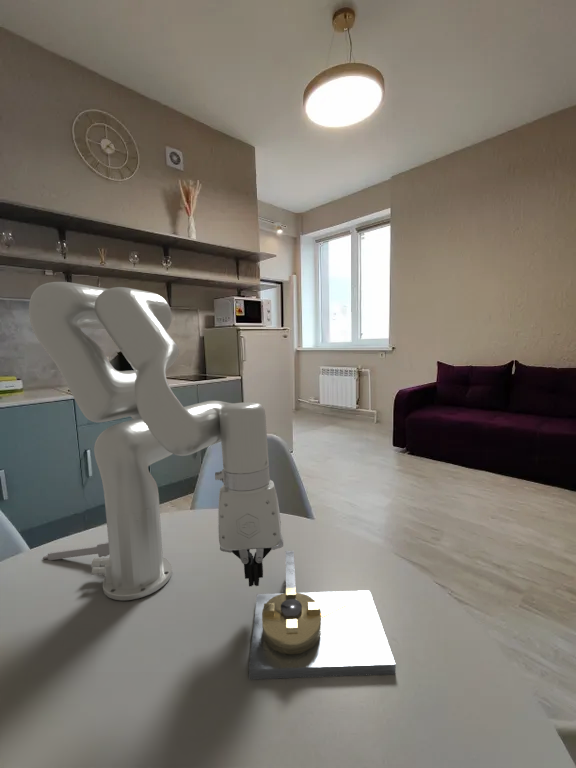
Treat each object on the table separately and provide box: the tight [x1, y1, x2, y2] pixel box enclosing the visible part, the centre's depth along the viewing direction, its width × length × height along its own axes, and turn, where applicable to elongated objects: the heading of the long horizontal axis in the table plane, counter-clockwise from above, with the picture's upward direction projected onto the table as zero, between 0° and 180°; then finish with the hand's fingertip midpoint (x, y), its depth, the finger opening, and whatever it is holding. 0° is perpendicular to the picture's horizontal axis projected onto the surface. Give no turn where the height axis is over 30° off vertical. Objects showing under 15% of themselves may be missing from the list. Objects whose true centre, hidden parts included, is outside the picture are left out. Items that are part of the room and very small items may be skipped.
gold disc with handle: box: [262, 550, 321, 654], centre depth 61 cm, size 9×20×4 cm, turn 1°
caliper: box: [42, 541, 110, 561], centre depth 78 cm, size 20×1×6 cm, turn 81°
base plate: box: [248, 590, 397, 680], centre depth 57 cm, size 20×15×2 cm
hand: (254, 580), depth 62 cm, fingers closed
